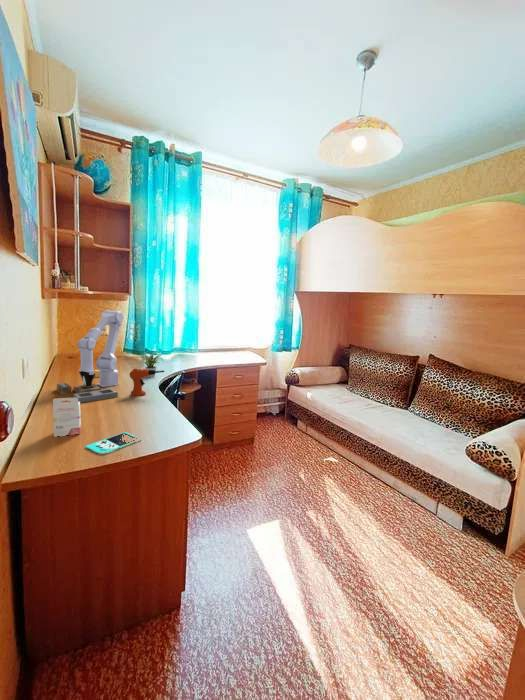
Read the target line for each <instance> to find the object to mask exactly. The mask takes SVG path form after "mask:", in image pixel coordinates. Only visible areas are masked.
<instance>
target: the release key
mask: <svg viewBox="0 0 525 700" xmlns="http://www.w3.org/2000/svg"><path fill="white" fill-rule="evenodd" d="M64 383H65V382H59V383H58V384H59V385H61V386H62V387H68V386H67V385H65V384H64Z"/></svg>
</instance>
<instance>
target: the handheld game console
mask: <svg viewBox="0 0 525 700" xmlns="http://www.w3.org/2000/svg"><path fill="white" fill-rule="evenodd" d="M123 434H125V435H128V434H130V435H128V436H130V437H132V438H135V437H133V436H135V435H134V434H131V433H130V432H128V431H125V432H121V433H118V434H115V435H113V436H110V437H108V438H104V439H102V440H98V441H95V442H93V443H90V444H87V445H85V449H87V448H89V449H91V450H93V451H95V452H97V453H107V452H110V451H113V450H115V449H117V448H120V447H123V446H125V445H127V444H129V443H132V441H131V442H128V443H126V442H125V440H124V442H123V441H122V435H123ZM131 435H132V436H131ZM123 437H124V435H123ZM120 439H121V440H120ZM136 439H137V438H136ZM133 441H135V440H133Z"/></svg>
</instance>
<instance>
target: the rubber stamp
mask: <svg viewBox="0 0 525 700" xmlns="http://www.w3.org/2000/svg"><path fill="white" fill-rule="evenodd" d="M94 373H95V376H94V378H100V370H99V369H94Z"/></svg>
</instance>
